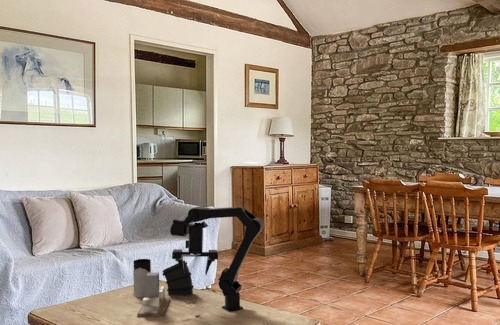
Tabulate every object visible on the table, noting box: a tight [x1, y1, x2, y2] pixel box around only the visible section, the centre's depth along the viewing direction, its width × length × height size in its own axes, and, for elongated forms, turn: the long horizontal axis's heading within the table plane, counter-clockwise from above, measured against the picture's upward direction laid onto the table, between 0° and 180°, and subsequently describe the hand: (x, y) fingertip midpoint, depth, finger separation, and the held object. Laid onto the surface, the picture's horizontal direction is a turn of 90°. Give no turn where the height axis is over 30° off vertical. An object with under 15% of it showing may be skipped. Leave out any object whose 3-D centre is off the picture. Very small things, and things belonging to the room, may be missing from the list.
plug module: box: [146, 271, 160, 304], centre depth 195 cm, size 4×4×13 cm
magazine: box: [162, 259, 194, 296], centre depth 216 cm, size 4×13×15 cm, turn 80°
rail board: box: [136, 285, 171, 318], centre depth 198 cm, size 10×20×6 cm, turn 2°
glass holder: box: [132, 258, 152, 298], centre depth 220 cm, size 9×14×15 cm, turn 178°
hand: (194, 274), depth 200 cm, fingers open, 9 cm apart
